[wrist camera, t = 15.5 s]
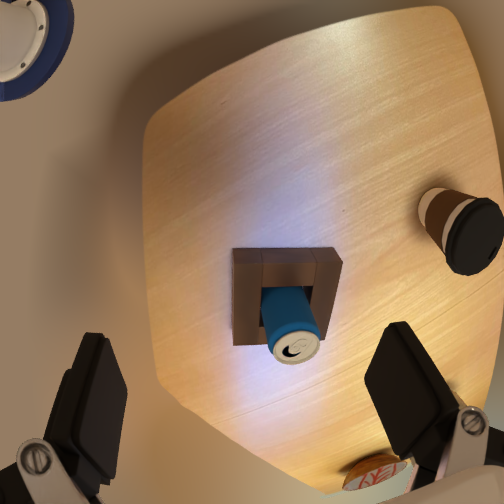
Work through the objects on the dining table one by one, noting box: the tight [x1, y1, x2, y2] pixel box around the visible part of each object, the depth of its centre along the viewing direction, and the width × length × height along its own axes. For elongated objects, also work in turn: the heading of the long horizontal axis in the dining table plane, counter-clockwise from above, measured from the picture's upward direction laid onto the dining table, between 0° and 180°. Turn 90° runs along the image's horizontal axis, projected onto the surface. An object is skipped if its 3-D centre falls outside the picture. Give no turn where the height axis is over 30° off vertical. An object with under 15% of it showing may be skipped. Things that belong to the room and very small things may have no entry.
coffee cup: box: [418, 188, 504, 276], centre depth 36 cm, size 11×11×12 cm
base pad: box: [232, 248, 343, 346], centre depth 44 cm, size 14×14×4 cm
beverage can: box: [260, 286, 321, 365], centre depth 40 cm, size 6×6×12 cm
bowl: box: [342, 454, 407, 491], centre depth 85 cm, size 25×25×8 cm
